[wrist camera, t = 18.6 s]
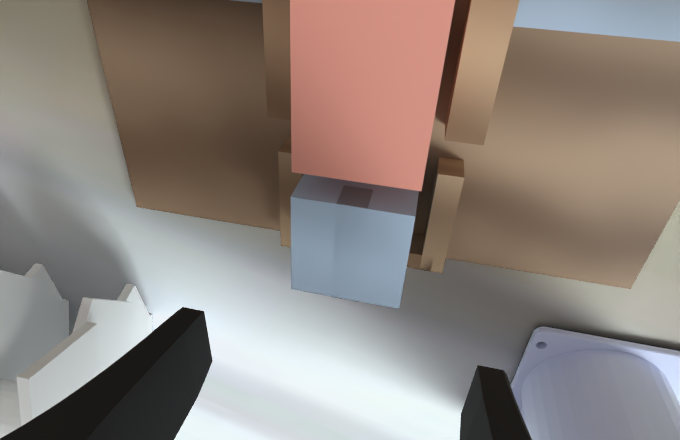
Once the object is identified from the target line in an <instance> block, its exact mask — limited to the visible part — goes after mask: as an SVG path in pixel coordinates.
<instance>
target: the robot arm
mask: <svg viewBox="0 0 680 440" xmlns="http://www.w3.org/2000/svg"><path fill="white" fill-rule="evenodd" d="M539 342H543V343H539ZM211 363H212V356H211V350H210V344H209V338H208V332H207V327H206V321H205V315H204V311H200V310H195V309H190V308H184V307H183V308H181V309H180V310H178V311H177V312H176V313H175V314H173V315H172V316H171V317H170V318H169V319H167V320H166V321H165V322H164V323H163V324H161V325H160V326H159V327H158V328H157V329H155V330H154V331H153V332H152V333H150V334H149V335H148V336H147V337H146V338H144V339H143V340H142V341H141V342H139V343H138V344H137V345H136V346H134V347H133V348H132V349H131V350H129V351H128V352H127V353H126V354H124V355H123V356H122V357H120V358H119V359H118V360H117V361H115V362H114V363H113V364H112V365H110V366H109V367H108V368H106V369H105V370H104V371H102V372H101V373H100V374H98V375H97V376H95V377H94V378H93V379H91V380H90V381H89V382H87V383H86V384H84V385H83V386H82V387H80V388H79V389H78V390H76V391H75V392H73V393H72V394H70V395H69V396H68V397H66V398H65V399H63V400H62V401H60V402H59V403H57V404H56V405H54V406H53V407H51V408H50V409H48V410H46V411H45V412H43V413H42V414H40V415H39V416H37V417H35V418H34V419H32V420H31V421H29V422H27V423H26V424H24V425H22V426H21V427H19V428H17V429H16V430H14V431H12V432H11V433H9V434H7V435H5V436H4V437H2V438H0V440H174V438H175V437H176V435H177V433H178V431H179V429H180V428H181V426H182V424H183V422H184V421H185V419H186V417H187V415H188V413H189V411H190V410H191V408H192V406H193V404H194V402H195V401H196V399H197V397H198V394H199V392H200V390H201V388H202V385H203V383H204V381H205V378H206V376H207V373H208V371H209V368H210V366H211ZM679 403H680V351H677V350H671V349H665V348H660V347H654V346H649V345H643V344H638V343H632V342H627V341H621V340H616V339H610V338H605V337H599V336H594V335H588V334H583V333H577V332H572V331H566V330H561V329H555V328H550V327H538V328H537V329H535V330H534V331H533V334H532V336H531V338H530V341H529V343H528V345H527V348H526V350H525V353H524V355H523V357H522V360H521V362H520V364H519V367H518V369H517V372H516V374H515V376H514V379H513V381H512V383H511V386H510V383H509V380H508V377H507V374H506V373H505V372H504V371H503V370H499V369H494V368H489V367H484V366H479V365H478V366H477V369H476V372H475V375H474V378H473V381H472V384H471V387H470V390H469V392H468V395H467V398H466V401H465V404H464V407H463V410H462V413H461V427H460V440H680V404H679Z"/></svg>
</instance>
